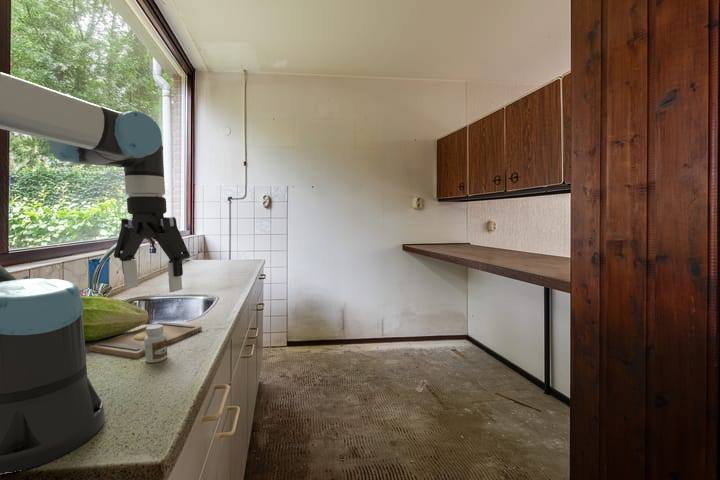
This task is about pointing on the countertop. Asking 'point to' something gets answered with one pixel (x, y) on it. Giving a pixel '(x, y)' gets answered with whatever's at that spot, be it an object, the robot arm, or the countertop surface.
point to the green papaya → (109, 317)
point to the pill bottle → (155, 344)
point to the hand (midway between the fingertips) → (153, 289)
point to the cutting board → (142, 340)
